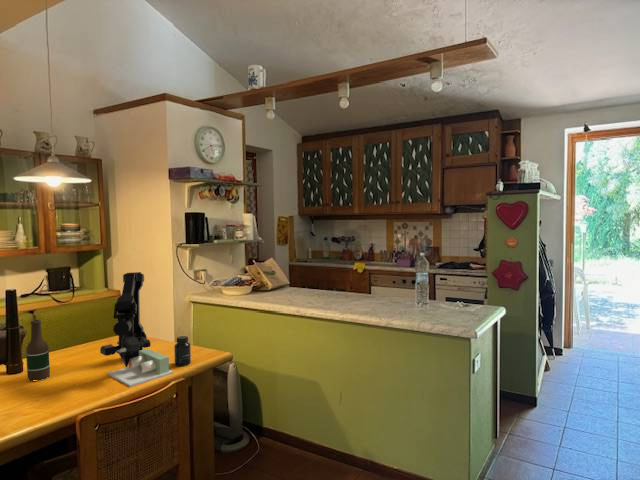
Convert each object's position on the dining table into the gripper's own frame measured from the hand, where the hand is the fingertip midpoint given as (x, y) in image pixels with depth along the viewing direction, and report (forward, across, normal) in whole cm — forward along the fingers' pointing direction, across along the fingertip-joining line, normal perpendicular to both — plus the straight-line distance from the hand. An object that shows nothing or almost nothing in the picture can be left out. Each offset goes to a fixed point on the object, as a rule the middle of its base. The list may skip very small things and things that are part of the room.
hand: (126, 366), depth 182 cm
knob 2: (+1, +8, -9) cm, 12 cm away
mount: (+3, +5, -4) cm, 7 cm away
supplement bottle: (+2, +22, -7) cm, 23 cm away
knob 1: (+1, +8, 0) cm, 8 cm away
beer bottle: (+4, -25, +23) cm, 35 cm away
